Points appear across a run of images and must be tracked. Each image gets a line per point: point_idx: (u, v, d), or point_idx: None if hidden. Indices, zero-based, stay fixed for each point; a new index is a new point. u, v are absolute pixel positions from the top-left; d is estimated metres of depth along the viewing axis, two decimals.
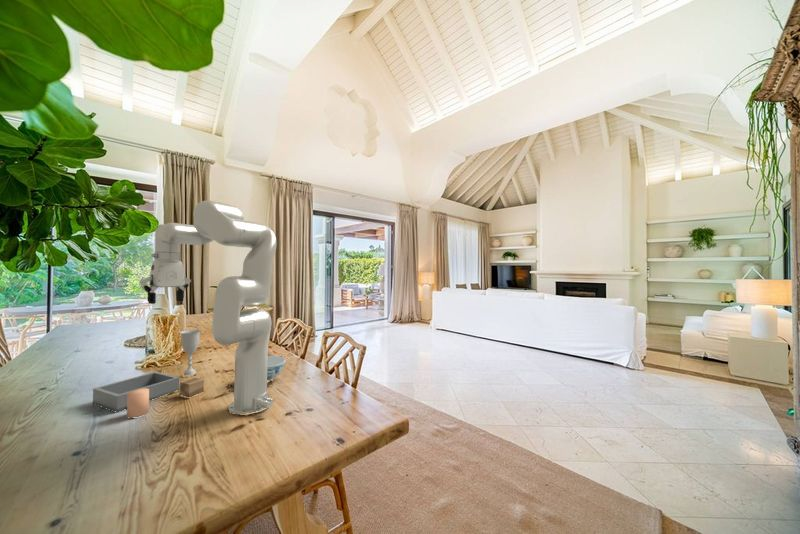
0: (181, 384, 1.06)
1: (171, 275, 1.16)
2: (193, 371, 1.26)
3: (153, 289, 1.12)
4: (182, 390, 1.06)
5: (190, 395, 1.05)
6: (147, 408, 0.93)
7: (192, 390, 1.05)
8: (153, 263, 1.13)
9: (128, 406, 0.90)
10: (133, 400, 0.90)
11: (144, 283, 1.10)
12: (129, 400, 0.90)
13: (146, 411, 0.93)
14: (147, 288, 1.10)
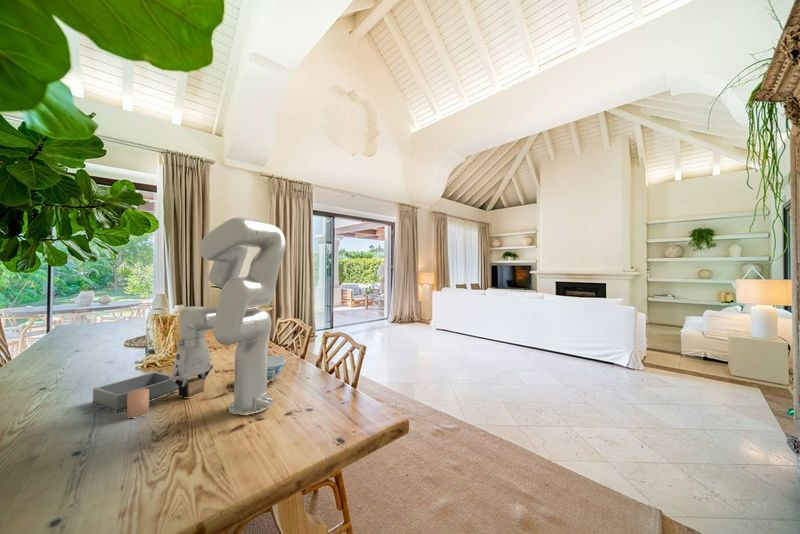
0: None
1: (197, 363, 1.06)
2: None
3: (184, 382, 1.04)
4: None
5: (190, 395, 1.05)
6: (147, 408, 0.93)
7: (192, 390, 1.05)
8: (178, 352, 1.03)
9: (128, 406, 0.90)
10: (133, 400, 0.90)
11: (174, 379, 1.02)
12: (129, 400, 0.90)
13: (146, 411, 0.93)
14: (179, 382, 1.03)
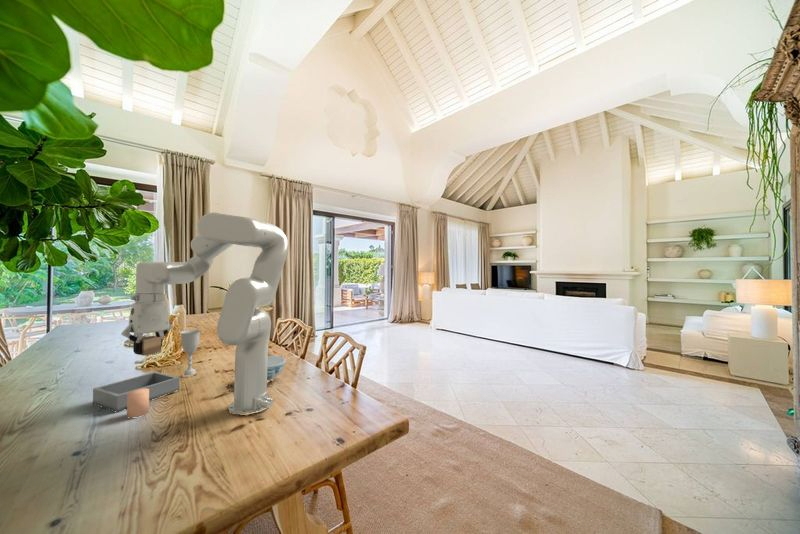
0: None
1: (153, 319, 1.03)
2: (193, 371, 1.26)
3: (138, 338, 1.00)
4: None
5: (145, 351, 1.01)
6: (147, 408, 0.93)
7: (148, 347, 1.02)
8: (133, 306, 1.00)
9: (128, 406, 0.90)
10: (133, 400, 0.90)
11: (127, 334, 0.98)
12: (129, 400, 0.90)
13: (146, 411, 0.93)
14: (133, 338, 0.99)
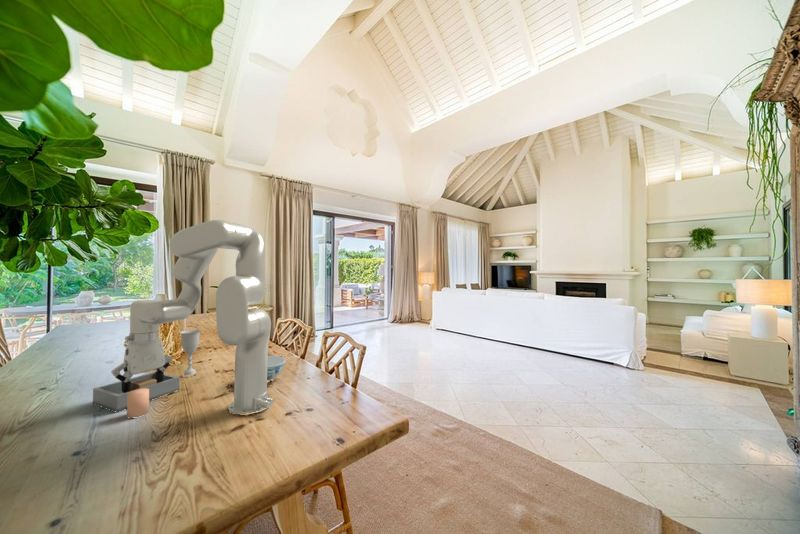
0: (132, 384, 1.02)
1: (148, 359, 1.02)
2: (193, 371, 1.26)
3: (128, 378, 0.98)
4: None
5: None
6: (147, 408, 0.93)
7: None
8: (127, 347, 0.99)
9: (128, 406, 0.90)
10: (133, 400, 0.90)
11: (117, 373, 0.96)
12: (129, 400, 0.90)
13: (146, 411, 0.93)
14: (121, 378, 0.97)
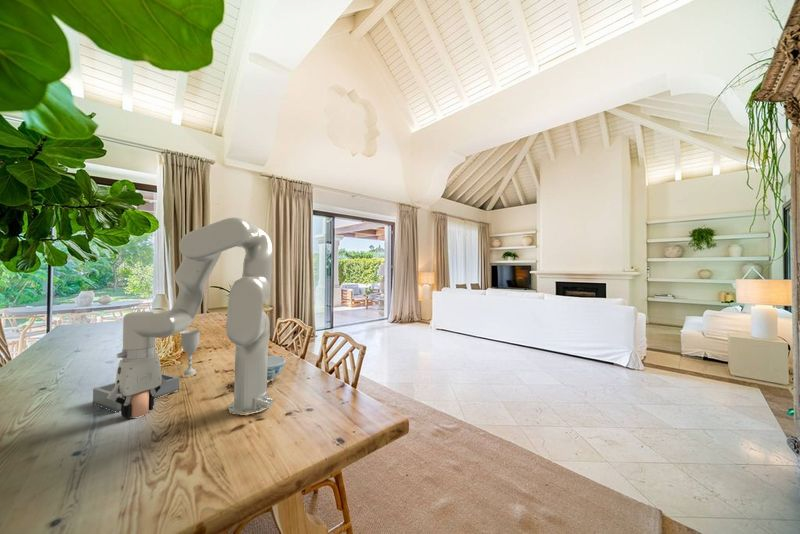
0: None
1: (143, 377, 0.91)
2: (193, 371, 1.26)
3: (127, 400, 0.89)
4: None
5: None
6: (147, 408, 0.93)
7: None
8: (120, 365, 0.89)
9: None
10: (133, 400, 0.90)
11: (114, 397, 0.87)
12: None
13: (146, 411, 0.93)
14: (120, 401, 0.88)
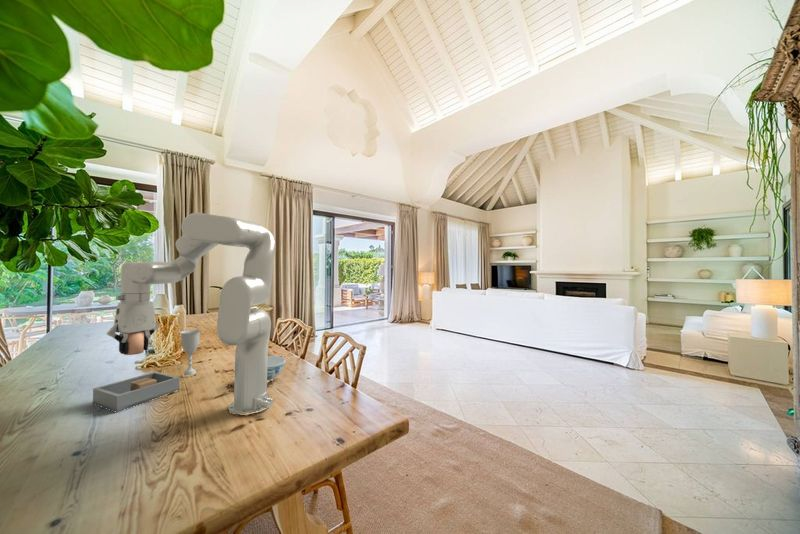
0: (132, 384, 1.02)
1: (139, 319, 1.03)
2: (193, 371, 1.26)
3: (124, 338, 1.01)
4: None
5: None
6: (142, 347, 1.05)
7: None
8: (118, 306, 1.00)
9: None
10: (130, 338, 1.02)
11: (113, 334, 0.98)
12: None
13: (141, 350, 1.04)
14: (118, 338, 1.00)
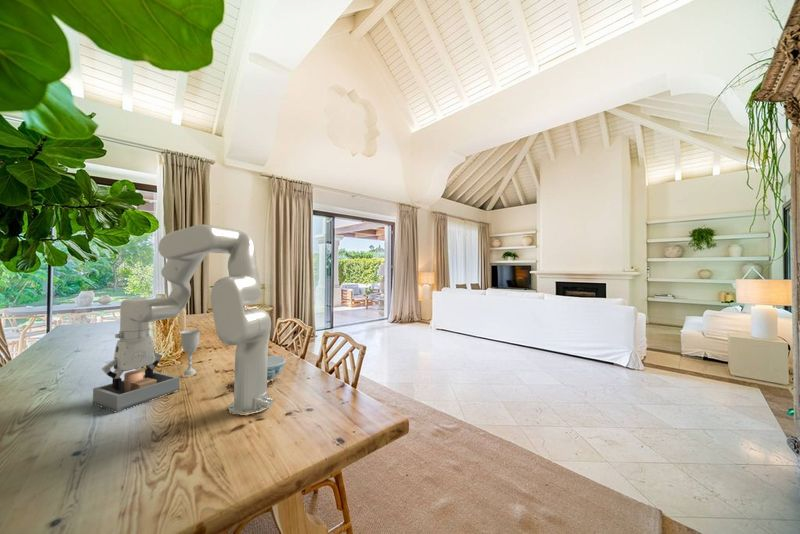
0: (132, 384, 1.02)
1: (138, 356, 1.05)
2: (193, 371, 1.26)
3: (118, 374, 1.01)
4: None
5: None
6: None
7: None
8: (117, 344, 1.02)
9: (125, 385, 1.04)
10: (129, 379, 1.03)
11: (107, 370, 0.99)
12: (126, 379, 1.03)
13: None
14: (111, 374, 1.00)
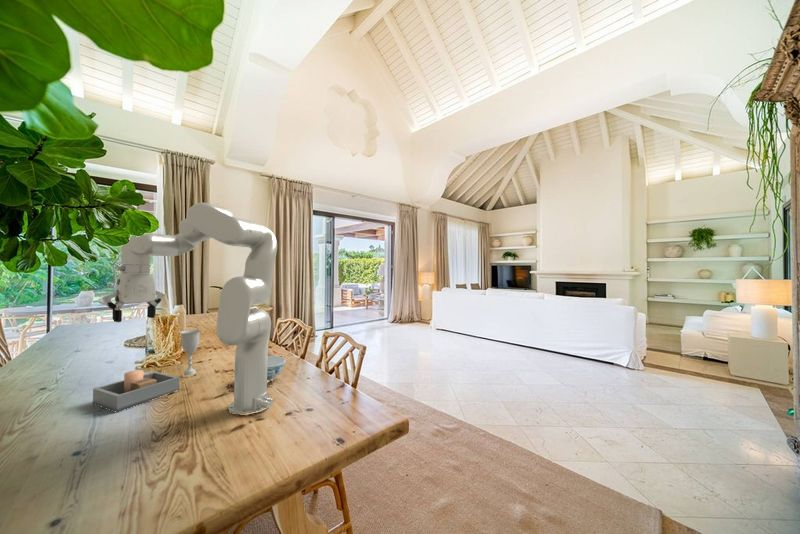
0: (132, 384, 1.02)
1: (139, 290, 1.05)
2: (193, 371, 1.26)
3: (118, 306, 1.01)
4: None
5: None
6: None
7: None
8: (119, 277, 1.02)
9: (125, 385, 1.04)
10: (129, 379, 1.03)
11: (108, 300, 0.99)
12: (126, 379, 1.03)
13: None
14: (111, 305, 0.99)
